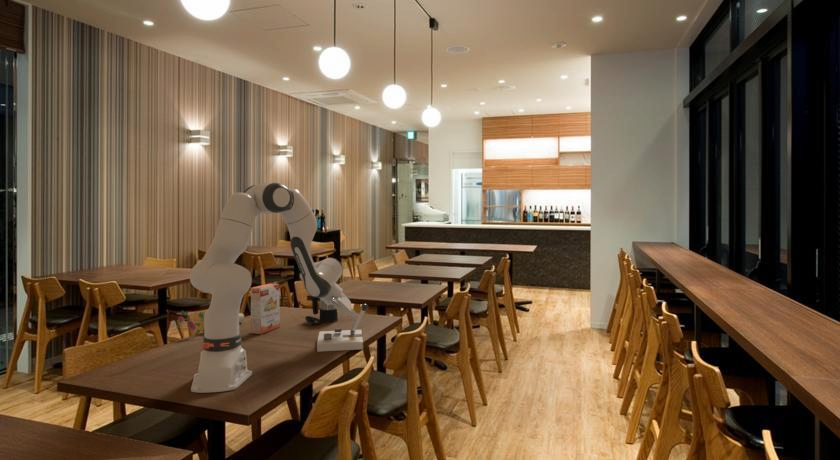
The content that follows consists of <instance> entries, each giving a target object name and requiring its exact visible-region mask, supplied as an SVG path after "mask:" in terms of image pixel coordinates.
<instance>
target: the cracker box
mask: <svg viewBox="0 0 840 460" xmlns="http://www.w3.org/2000/svg"><path fill="white" fill-rule="evenodd" d="M280 317H281V315H280V283H266V284H263V285H258V286H253V287H250V330H251V334H255V335H263V334H265V333H269V332H271V331H274V330H277V329H279V328H281V327H280V326H281V323H280Z"/></svg>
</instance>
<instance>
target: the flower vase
mask: <svg viewBox="0 0 840 460" xmlns="http://www.w3.org/2000/svg"><path fill="white" fill-rule="evenodd" d="M180 314H181V315H182V316H178V318H177V321H176V323H178V324H177V325H176V329H178V328H180V327H181V324H182V325H183V324H185V323H186V324H187V325H186V326H187V329H188V330H189V331H192V332H194V331H196V332H195V335H198V334H199V333H200V332H201V329H202V328H203V327H204V324H202V327H201V329H197V330H196V327H200V326H201V323H204V314H205V313H204V312H201V311H200V312H199V314H198V318H199V317H200V319H199V322H195V323H194V319H193V318H191V319H190V318H184V316H187V315H188V312H185V311H184V310H181V313H180ZM185 320H186V321H185ZM244 320H245V315H244V314H243V313H242V312H239V324H242V323H243V322H244ZM202 332H203V333H204V328H203V329H202Z"/></svg>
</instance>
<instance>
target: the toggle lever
mask: <svg viewBox="0 0 840 460" xmlns="http://www.w3.org/2000/svg"><path fill="white" fill-rule="evenodd" d="M360 309H361V310H360V312H359V313H358V317H357V318H356V319H355V323H353V326H352V328H351V329H350V330H351V331H350V334H351V335H354V334H355V330H357V329H358V326H359V324H360V322H361V321H362V318H363V316H364V314H365V312H367V311H368V309H369V305H368V304H367V303H363V304H362V305H361V306H360Z"/></svg>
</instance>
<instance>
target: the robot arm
mask: <svg viewBox="0 0 840 460" xmlns="http://www.w3.org/2000/svg"><path fill="white" fill-rule="evenodd" d="M259 214H260V215H261V214H263V215H271V214H279V215H280V216H281V218H282V220H283V221H284V224H285V225H286V227H287V229H288V232H289V236H290V237H289V238H290V248H291V252H292V255H293V256H294V259H295V262H296V264H297V267H298V269H299V272H300V273H299V278H300V280H301V281H302V283H303V286H304V289H305V291H306V292H307V293H308V295H310V296H311V297H316V298H318V299H319V300H320V299H321V300H322V301H324V302H325V303H326V304H327V305H330V304H331V305H332V306H334V307H335V308H336V309H337V312H339V313H340V315H342V316H343V317H344V318H347V317H348V316H350V317H351V318H352V319H354V320H357V318H358V316H359V314H358V313H356V312H355V310H354V308H352V302H351V300H350V298H349V297H347V296H346V294H345V293H344V292H343V290H344V289H343V288H341V286H340V285H339V284H338V283H337V282H338V281H339V279H340V278H341V276H342V275H343V273H344V268H343V265H342V263H341V262H340V261H339V260H338V259H337V258H333V257H327V258H324V259H323V260H320V261H317V262H314V260H313V256H312V254H311V246H312V242H313V240H314V237H315V234H316V232H317V229H318V220H317V218H316V215H315V213H314V211H313V209H312V207H311V206H310V204H309V203H308V201H307V199H306V198H305V197H304V195H303V194H302V193H301V192H300V191H299V190H298V189H296V188H289V187H287V186H286V185H284V184H282V183H279V182H272V183H270V182H268V183H267V182H264V183H260V184H259V183H258V184H254V185H251V186H249V187H247V188H246V189H245V190H244V191H243V192H235V193H232V194H231V195H230V196H229V197H228V199H227V201H226V203H225V205H224V207H223V210H222V212H221V215H220V218H219V221H218V224H217V227H216V229H215V230H216V231H215V234H214V237H213V239H212V242H211V244H210V245H209V247H208V249H207V251H206V253H205V254H204V256H203V257H202V258H201V260H200V261H199V262H198V263H197V264H194V266H193V267H191V268H192V269H191V270H190V272H189V280H190V284H191V285H192V286H193V287H194V288H195V289H197V290H198V291H200V292H202V293H206V294H211V301H210V304H209V307H208V309H207V310H205V312H204V313H203V314H204V319H203V320H204V322H203V325H204V326H203V329H204V332H203V334H204V336H203V339H202V345H201V346H202V349H203V350H201V352H200V358H199V365H198V366H197V368H196V369H197V373H195V374H194V375H193V380H192V383H191V387H190V392H192V393H198V394H199V393H201V394H205V393H208V394H210V393H221V392H229V391H233V390H236V389H238V388H239V387H240V386H241V385H242V384H243V383H244V382H246V381H247V379H249V378H250V377H251V376H252V375H253V371H252V370H249V369H248V363H247V361H248V360H247V351H246V350H245V349H244V348H243V347H242V346H241V344H242V335H241V334H242V333H240V323H239V313H240V310H241V303H242V300H243V298H244V296H245V294H246V293H248V291H250V289H251V287H252V284H253V283H252V281H253V277H252V273H251V272H250V271H249V270H248V269H247V268H246V267H244V266H242V265H239V264H237V263H235V262H236V261H237V259H238V258H239V256H240V255H241V254H243V253H244V252H245V251H246V250H247V248H248V246H249V241H250V238H251V234H252V231H253V228H254V225H255V224H254V223H255V220H256V217H257V216H258V215H259Z"/></svg>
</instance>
